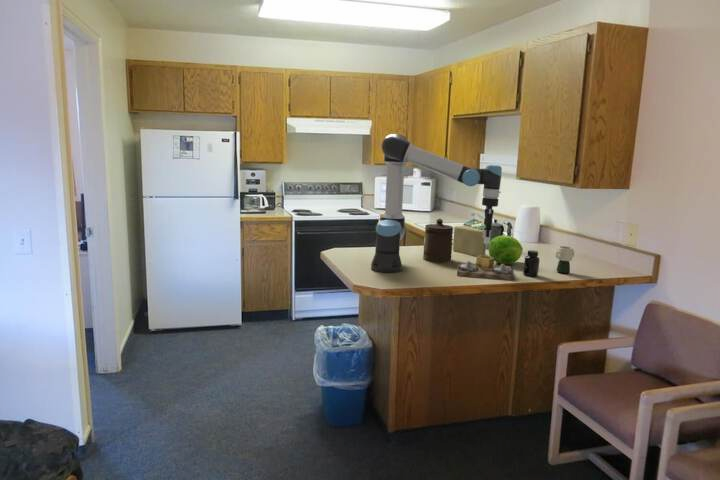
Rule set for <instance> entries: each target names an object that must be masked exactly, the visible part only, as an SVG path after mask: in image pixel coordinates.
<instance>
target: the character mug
mask: <svg viewBox="0 0 720 480" xmlns="http://www.w3.org/2000/svg"><path fill="white" fill-rule="evenodd" d="M574 257H575V250H574V247H572V246H566V245H559V246H558V248H557V251H556V253H555V258H556V259H558V260H559V261H558V263H557V266H556V267H557V268H556V272H559V273H560V274H561V273H563V274H569V273H570V272H571V271H570V270H571V264H570V262H572V261H573V258H574Z"/></svg>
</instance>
